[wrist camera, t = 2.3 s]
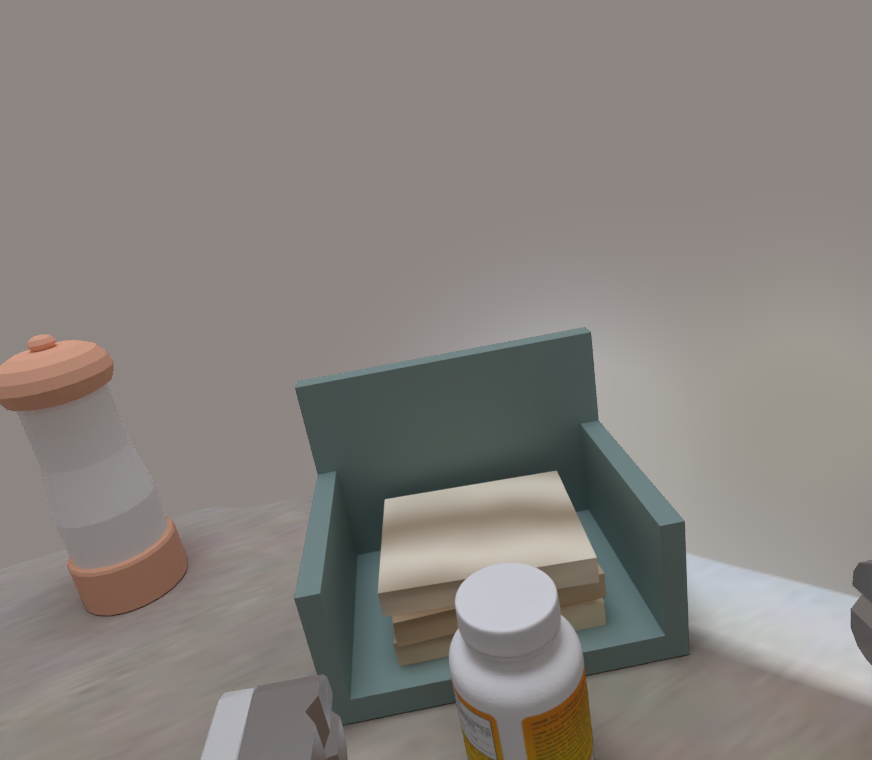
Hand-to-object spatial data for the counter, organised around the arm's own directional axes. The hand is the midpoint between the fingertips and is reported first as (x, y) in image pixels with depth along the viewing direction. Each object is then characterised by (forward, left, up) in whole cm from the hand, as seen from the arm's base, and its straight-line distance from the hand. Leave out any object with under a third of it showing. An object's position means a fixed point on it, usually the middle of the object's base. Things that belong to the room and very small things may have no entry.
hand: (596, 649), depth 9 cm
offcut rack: (-9, +21, -18) cm, 29 cm away
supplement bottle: (-5, +11, -19) cm, 22 cm away
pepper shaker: (-36, +21, -19) cm, 46 cm away
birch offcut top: (-9, +21, -14) cm, 27 cm away
